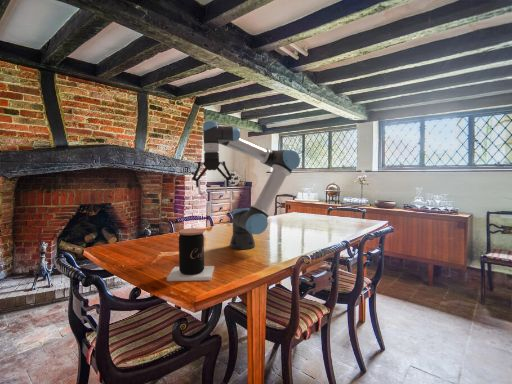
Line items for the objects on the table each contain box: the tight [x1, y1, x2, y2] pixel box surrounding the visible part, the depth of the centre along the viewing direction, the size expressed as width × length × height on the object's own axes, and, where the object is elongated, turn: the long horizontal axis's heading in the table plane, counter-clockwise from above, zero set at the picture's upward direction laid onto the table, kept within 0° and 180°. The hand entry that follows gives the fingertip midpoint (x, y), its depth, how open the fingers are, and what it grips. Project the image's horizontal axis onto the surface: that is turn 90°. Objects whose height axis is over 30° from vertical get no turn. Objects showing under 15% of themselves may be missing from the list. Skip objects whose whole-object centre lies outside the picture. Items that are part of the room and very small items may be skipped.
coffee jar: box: [178, 227, 205, 275], centre depth 126 cm, size 11×11×18 cm
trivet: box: [166, 265, 215, 282], centre depth 127 cm, size 18×14×2 cm
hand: (212, 193), depth 150 cm, fingers open, 13 cm apart
